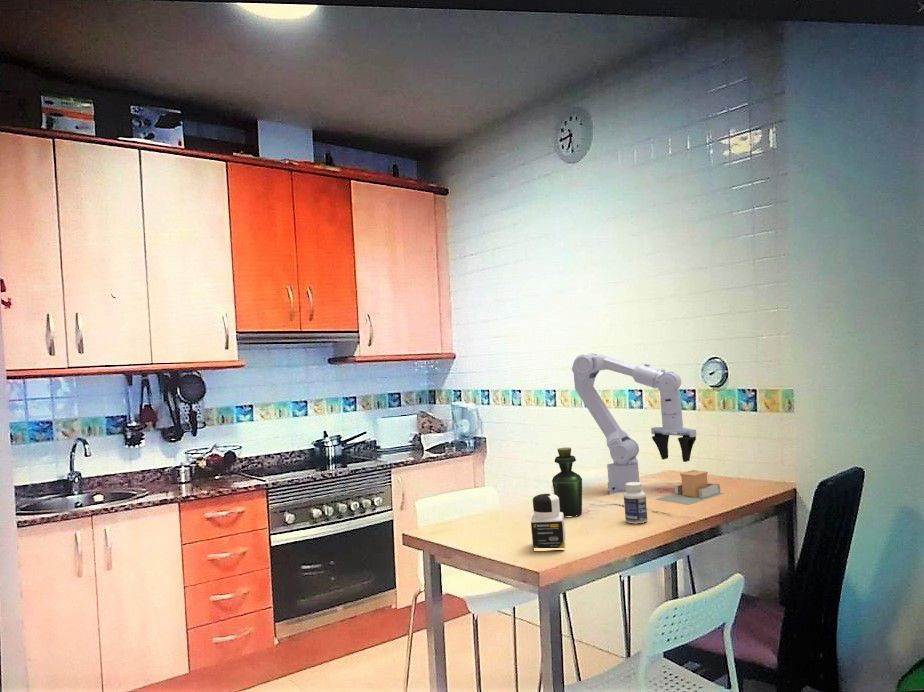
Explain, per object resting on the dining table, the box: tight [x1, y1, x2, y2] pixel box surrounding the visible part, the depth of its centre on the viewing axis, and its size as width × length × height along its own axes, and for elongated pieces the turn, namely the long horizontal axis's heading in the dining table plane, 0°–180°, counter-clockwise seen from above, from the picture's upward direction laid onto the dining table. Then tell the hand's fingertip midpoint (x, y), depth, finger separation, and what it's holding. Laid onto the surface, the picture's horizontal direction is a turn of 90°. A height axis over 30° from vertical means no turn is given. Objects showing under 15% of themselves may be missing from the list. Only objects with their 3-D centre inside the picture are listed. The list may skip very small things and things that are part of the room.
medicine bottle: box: [530, 493, 567, 549], centre depth 155 cm, size 7×7×12 cm
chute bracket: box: [674, 482, 721, 499], centre depth 189 cm, size 8×9×2 cm
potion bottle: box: [551, 446, 583, 517], centre depth 183 cm, size 8×8×18 cm
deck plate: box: [655, 492, 725, 506], centre depth 187 cm, size 16×11×1 cm
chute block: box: [679, 469, 709, 497], centre depth 188 cm, size 6×5×6 cm
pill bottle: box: [623, 482, 648, 525], centre depth 170 cm, size 5×5×10 cm
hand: (675, 460), depth 196 cm, fingers open, 7 cm apart
